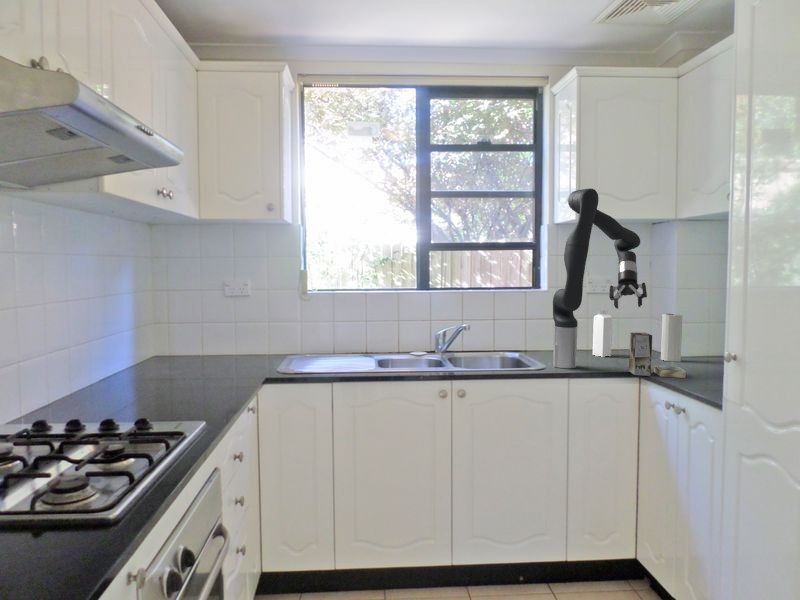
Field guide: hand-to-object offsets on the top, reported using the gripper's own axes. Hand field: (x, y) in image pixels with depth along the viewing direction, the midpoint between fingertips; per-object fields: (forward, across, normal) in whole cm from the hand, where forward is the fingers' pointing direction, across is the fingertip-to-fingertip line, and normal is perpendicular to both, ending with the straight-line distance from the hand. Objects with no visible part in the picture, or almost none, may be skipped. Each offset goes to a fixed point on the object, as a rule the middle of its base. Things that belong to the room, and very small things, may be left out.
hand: (628, 306), depth 210 cm
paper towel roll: (+6, +11, +42) cm, 44 cm away
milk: (+5, -18, +37) cm, 42 cm away
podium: (+25, +13, +14) cm, 31 cm away
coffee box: (+26, +2, +10) cm, 28 cm away
